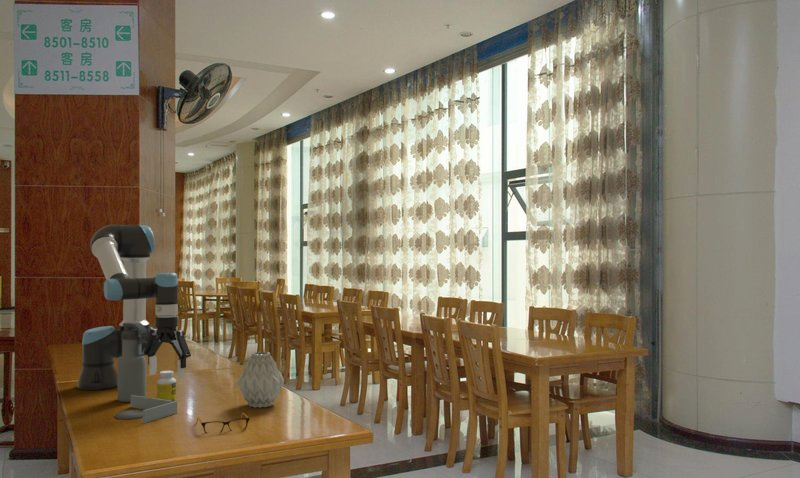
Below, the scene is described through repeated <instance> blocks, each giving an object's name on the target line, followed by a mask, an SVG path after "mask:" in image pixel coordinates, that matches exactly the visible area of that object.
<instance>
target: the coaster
mask: <svg viewBox="0 0 800 478" xmlns="http://www.w3.org/2000/svg"><path fill="white" fill-rule="evenodd" d="M143 410H144V409H130V410H124V411H120V412H117V413H116V414H115V415H114V418H115V419H118V420H137V419H143Z"/></svg>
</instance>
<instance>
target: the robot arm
mask: <svg viewBox="0 0 800 478" xmlns="http://www.w3.org/2000/svg"><path fill="white" fill-rule="evenodd" d="M89 247H90V251H91V252H92V255H93V256H94V257H95V258H97V260H98V262H99V264H100V268H101V270H102V272H103V275H104V277H105V281H104V283H103V296H104V298H105V299H106V300H107V301H123V303H122V304H123V306H122V307H123V311H122V313H123V315H122V318H123V320H122V321H121V322H120V323H119V324H118V326H119V327H118V329H117V328H115V326H113V325H106V326H105V325H104V326H98V327H94V328H90V329H87V330H85V331H84V332H83V334H82V340H81V341H82V342H81V345H82V368H81V371H80V374H79V378H78V381H77V389H78V390H83V391H97V390H98V391H99V390H107V389H111V388H115V387H118V371H117V370H116V367H115V359H119V358H121V357H122V332H123V331H124V326H123V323H127V322H132V323H141V324H143V325H144V327H145V328H146V331H147V336H145V341H147V344H145V343H142V344H141V354H146V355H145V356H147V358H148V359H147V360H148V361H147V364H148V366H149V367H148V372H149V374H148V375H149V376H153V375H157V371H158V369H157V367H158V366H157V365H158V364H157V360H158V359H157V358H158V357H157V354H156V353H157V352H158V350H159V349H160V347H161V346H162V345H163V343H166V344H169V345H171V347H172V348H173V350H174V351H175V354H176V356H178V358H177V379H181V378H185V377H186V368H187V358H190V357H191V355H192V353H191V351H190V348H189V346H188V343H187V340H186V337H185V333H184V332H185V330H183V329H181V330H177V327H178V325H179V318H178V315H179V311H178V308H179V306H178V305H179V304H178V300H179V299H178V298H179V297H178V295H179V293H178V290H179V289H178V287H179V280H178V274H177V273H176V272H158V273H156V274H155V277H154V276H153V277H147V261H148V260H149V259H151V254H153V253H154V252H155V248H156V240H155V236H154V232H153V230H152V228H151V227H150V226H148V225H144V224H108V225H105V226H102V227H101V228H99V229H98V230H97V231H96V232H94V234H93V236H92V237H91V239H90V246H89ZM148 299H155V316H156V317H155V328H154V327H152V326H150V322H149V321H148V320H147V319H146V318H147V317H146V316H147V315H146V314H147V312H146V310H147V309H146V308H147V300H148ZM133 329H135V328H133ZM142 338H143V337H142Z"/></svg>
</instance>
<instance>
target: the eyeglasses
mask: <svg viewBox="0 0 800 478" xmlns="http://www.w3.org/2000/svg"><path fill="white" fill-rule="evenodd" d="M243 415H244V417H243ZM239 420H245V427H244V428H243V430H246V429H247V427H248V424H249V421H250V417H249V416H248V415H246V413H245V412H242V413H241V415H240V418H235V419H232V420H228V421H220V420H219V421H218V420H216V421H214V420H213V421H206V422H203V421H202V420H201V419H200V417H199V416H197V418H196V424H198V421H199V423H200V425H201V426H202V429H203V431H204V433H205V434H208V432H207V430H206V428H205V427H206V425H207V424H210V423H220V424H221V423H222V424H223V426H222V428H221V430H220V431H219V433H222V432H223V430H224V427H225V426H228V428H229V431H230V432H232V431H233V430H232V428H231V427H230V423H232V422H234V421H239Z"/></svg>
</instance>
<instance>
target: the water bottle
mask: <svg viewBox="0 0 800 478" xmlns="http://www.w3.org/2000/svg"><path fill="white" fill-rule="evenodd" d="M123 326H124V331H123V332H122V357H121V358H118V360H117V376H118V386H117V401H119V402H122V403H131V395H135V396H142V397H147V358H146V357H145V356H147V355H146V354H141V344H142V343H145V344H147V341H145V336H147V331H146V328H145V327H144V325H143V324H141V323H132V322H127V323H123ZM133 328H135V329H133ZM142 337H143V338H142Z"/></svg>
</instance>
